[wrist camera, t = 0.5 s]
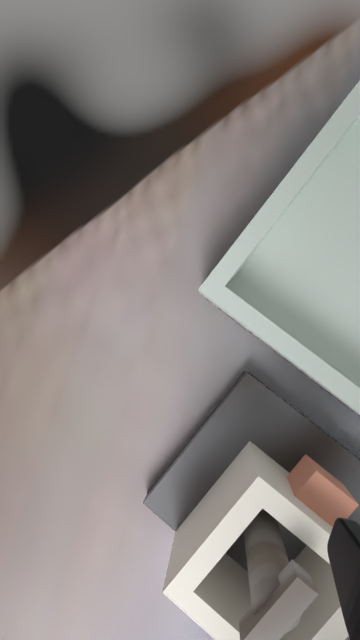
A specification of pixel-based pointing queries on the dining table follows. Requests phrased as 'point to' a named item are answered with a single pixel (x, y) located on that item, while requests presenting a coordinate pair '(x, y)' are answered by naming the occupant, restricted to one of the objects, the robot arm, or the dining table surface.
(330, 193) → the tray
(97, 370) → the dining table surface
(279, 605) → the stand
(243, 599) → the collar
